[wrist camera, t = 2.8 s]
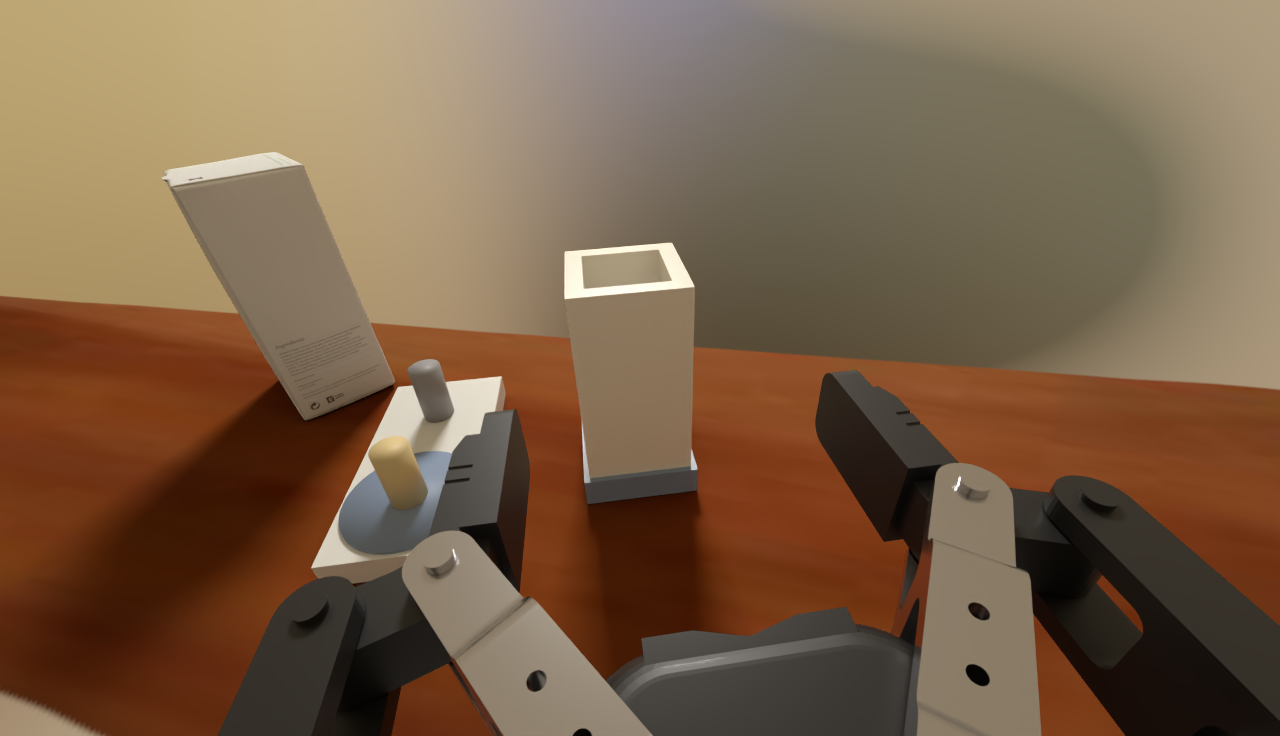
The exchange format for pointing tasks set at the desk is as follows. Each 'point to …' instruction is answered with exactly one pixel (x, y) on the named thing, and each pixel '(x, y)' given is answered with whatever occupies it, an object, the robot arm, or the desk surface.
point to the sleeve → (633, 369)
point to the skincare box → (284, 276)
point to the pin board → (419, 442)
